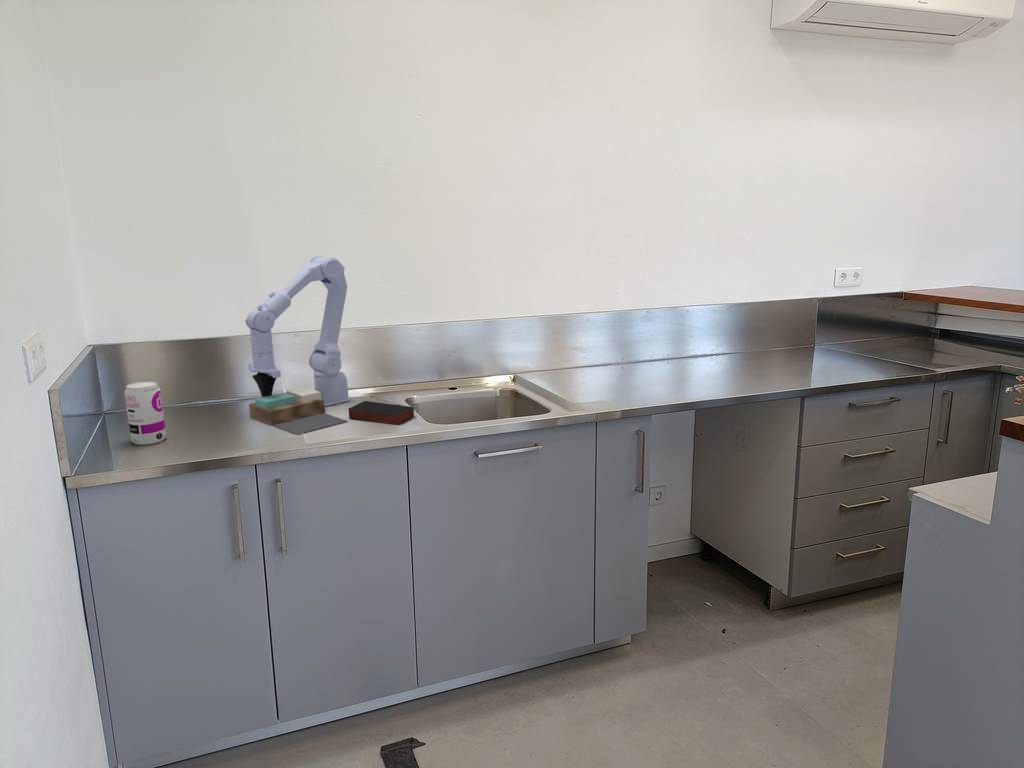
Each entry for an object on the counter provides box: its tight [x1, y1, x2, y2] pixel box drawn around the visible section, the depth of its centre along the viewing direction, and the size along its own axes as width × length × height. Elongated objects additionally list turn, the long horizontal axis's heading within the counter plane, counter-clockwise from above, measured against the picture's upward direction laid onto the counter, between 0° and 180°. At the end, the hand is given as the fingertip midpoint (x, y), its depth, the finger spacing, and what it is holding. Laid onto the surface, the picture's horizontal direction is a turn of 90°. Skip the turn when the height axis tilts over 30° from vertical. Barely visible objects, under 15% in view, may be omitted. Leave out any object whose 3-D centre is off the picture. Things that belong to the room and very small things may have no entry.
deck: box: [248, 399, 326, 427], centre depth 210 cm, size 17×12×4 cm
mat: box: [272, 412, 349, 435], centre depth 202 cm, size 16×12×1 cm
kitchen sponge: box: [348, 395, 415, 426], centre depth 210 cm, size 19×3×15 cm
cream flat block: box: [285, 386, 321, 403], centre depth 214 cm, size 9×6×2 cm, turn 47°
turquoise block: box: [254, 392, 295, 409], centre depth 207 cm, size 9×6×2 cm, turn 137°
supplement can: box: [124, 381, 167, 446], centre depth 187 cm, size 8×8×15 cm
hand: (267, 398), depth 210 cm, fingers closed
